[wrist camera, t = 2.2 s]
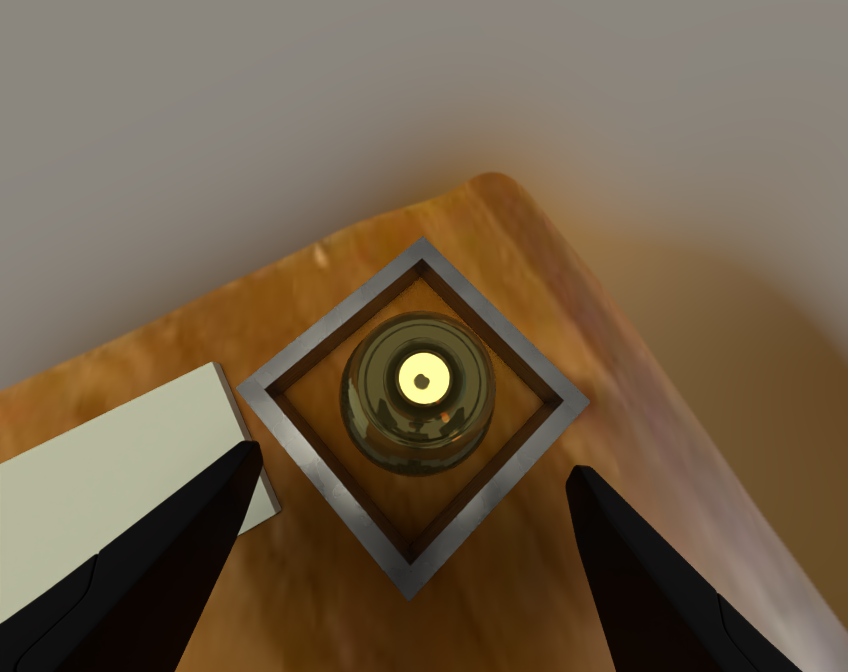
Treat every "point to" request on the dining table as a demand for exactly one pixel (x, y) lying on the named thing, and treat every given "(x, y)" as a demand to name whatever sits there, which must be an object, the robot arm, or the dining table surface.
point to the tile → (113, 479)
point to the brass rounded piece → (418, 394)
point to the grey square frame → (334, 481)
